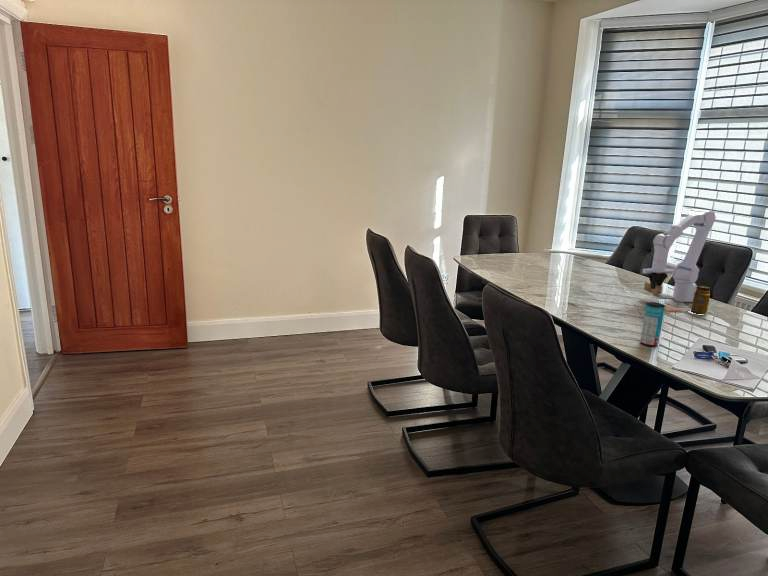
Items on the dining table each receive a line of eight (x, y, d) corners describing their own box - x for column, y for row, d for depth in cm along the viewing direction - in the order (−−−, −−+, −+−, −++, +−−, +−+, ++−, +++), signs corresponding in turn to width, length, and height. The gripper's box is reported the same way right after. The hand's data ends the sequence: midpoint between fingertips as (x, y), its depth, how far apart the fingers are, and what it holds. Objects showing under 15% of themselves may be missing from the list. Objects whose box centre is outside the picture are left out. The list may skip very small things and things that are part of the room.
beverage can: (661, 347, 187) (668, 306, 184) (645, 347, 187) (652, 306, 183) (652, 341, 193) (658, 302, 189) (636, 341, 192) (643, 301, 189)
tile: (670, 305, 243) (682, 310, 235) (670, 308, 243) (681, 313, 236) (656, 305, 242) (667, 310, 234) (656, 308, 242) (667, 313, 235)
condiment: (710, 314, 235) (715, 287, 232) (700, 316, 230) (706, 289, 227) (693, 309, 240) (698, 284, 238) (684, 312, 236) (688, 286, 233)
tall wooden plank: (639, 289, 255) (641, 281, 254) (651, 289, 256) (652, 281, 255) (662, 299, 239) (663, 290, 238) (674, 299, 240) (675, 290, 239)
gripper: (668, 258, 250) (663, 286, 253) (640, 258, 248) (636, 286, 251) (678, 261, 243) (673, 290, 247) (649, 261, 241) (644, 289, 245)
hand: (655, 288), depth 249 cm, fingers closed on tall wooden plank, 2 cm apart
